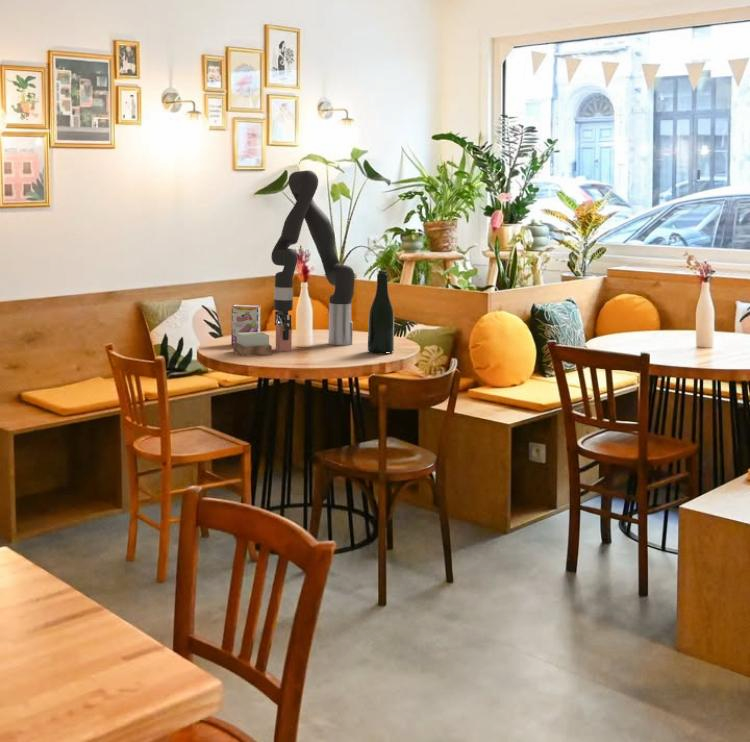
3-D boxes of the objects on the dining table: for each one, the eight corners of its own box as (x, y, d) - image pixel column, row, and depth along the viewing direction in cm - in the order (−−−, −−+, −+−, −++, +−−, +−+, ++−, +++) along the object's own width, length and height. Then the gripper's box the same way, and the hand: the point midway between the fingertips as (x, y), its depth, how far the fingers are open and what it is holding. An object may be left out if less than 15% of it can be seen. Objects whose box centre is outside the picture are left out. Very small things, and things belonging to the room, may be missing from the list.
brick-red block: (287, 349, 435) (287, 324, 433) (291, 350, 430) (291, 326, 429) (275, 349, 433) (275, 324, 431) (279, 351, 428) (279, 326, 427)
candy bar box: (231, 345, 440) (231, 305, 437) (233, 343, 445) (233, 304, 442) (257, 346, 439) (258, 306, 436) (260, 344, 444) (260, 305, 441)
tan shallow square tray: (262, 351, 430) (262, 341, 430) (271, 356, 420) (271, 345, 419) (233, 352, 426) (233, 342, 425) (241, 357, 415) (241, 347, 414)
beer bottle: (376, 355, 425) (379, 271, 419) (362, 351, 434) (364, 269, 428) (398, 353, 431) (401, 271, 425) (384, 349, 439) (386, 268, 434)
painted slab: (260, 341, 429) (260, 331, 428) (269, 345, 420) (269, 335, 419) (236, 342, 425) (236, 332, 424) (244, 346, 416) (244, 336, 415)
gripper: (298, 300, 423) (297, 341, 426) (286, 296, 436) (286, 336, 439) (279, 300, 420) (278, 341, 423) (269, 296, 433) (268, 336, 436)
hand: (282, 338), depth 431 cm, fingers open, 8 cm apart
